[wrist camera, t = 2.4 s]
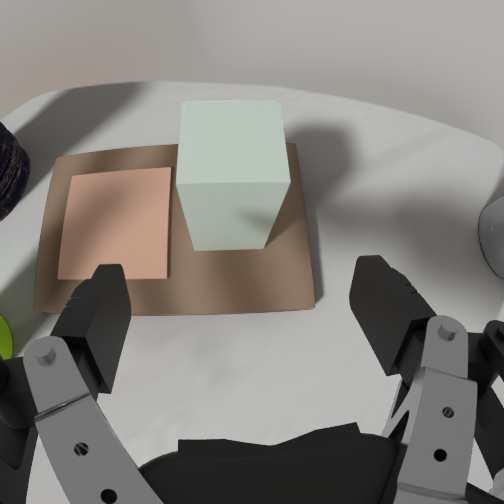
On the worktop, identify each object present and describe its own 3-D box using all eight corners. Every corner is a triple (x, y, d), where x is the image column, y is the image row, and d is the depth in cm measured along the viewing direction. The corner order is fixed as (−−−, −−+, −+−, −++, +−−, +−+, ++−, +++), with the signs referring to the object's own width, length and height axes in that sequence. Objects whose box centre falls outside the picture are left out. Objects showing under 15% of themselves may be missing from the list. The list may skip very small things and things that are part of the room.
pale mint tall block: (258, 188, 25) (279, 101, 15) (263, 248, 23) (290, 182, 14) (195, 189, 24) (182, 101, 15) (194, 250, 23) (176, 184, 13)
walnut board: (292, 152, 28) (295, 143, 26) (309, 309, 24) (315, 307, 22) (62, 165, 25) (56, 157, 24) (42, 312, 22) (33, 310, 20)
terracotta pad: (171, 169, 24) (170, 167, 24) (167, 278, 22) (166, 277, 22) (73, 177, 24) (72, 175, 23) (59, 279, 21) (57, 279, 21)
